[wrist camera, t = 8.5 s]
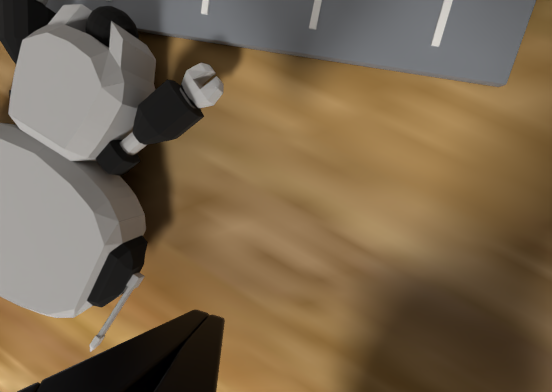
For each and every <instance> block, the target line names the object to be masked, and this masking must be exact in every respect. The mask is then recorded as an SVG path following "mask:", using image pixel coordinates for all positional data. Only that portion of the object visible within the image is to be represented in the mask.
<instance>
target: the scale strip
mask: <svg viewBox="0 0 552 392" xmlns="http://www.w3.org/2000/svg"><path fill="white" fill-rule="evenodd" d="M535 2H536V0H48V2H47V4H46V7H48V8H49V9H51V10H52V11H53V12H55V13H56V14H57V12H58V11H59V10H60V9H61V7H62V6H63V5H72V4H83V5H84V6H85V7H87V8H88V9H90V10H91V11H93V10H95V9H96V8H98V7H100V6H113V7H115V8H117V9H120V10H122V11H124V12H125V13H126V14H128V16H129V17H130V18H131V19H132V20H133V22H134V23H135V24H136V27H137V30H138V31H139V32H145V33H152V34H158V35H165V36H171V37H178V38H184V39H191V40H197V41H204V42H210V43H217V44H223V45H230V46H236V47H243V48H249V49H256V50H262V51H269V52H275V53H282V54H288V55H295V56H301V57H307V58H314V59H320V60H327V61H333V62H340V63H346V64H353V65H359V66H366V67H372V68H379V69H385V70H392V71H398V72H405V73H411V74H418V75H424V76H431V77H437V78H444V79H450V80H457V81H463V82H470V83H476V84H482V85H489V86H495V87H500V86H503V85H506V83H507V81H508V78H509V75H510V72H511V69H512V67H513V64H514V61H515V58H516V55H517V53H518V50H519V47H520V44H521V41H522V39H523V36H524V33H525V30H526V27H527V25H528V22H529V19H530V16H531V13H532V11H533V8H534V5H535Z"/></svg>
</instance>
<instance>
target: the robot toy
mask: <svg viewBox="0 0 552 392" xmlns="http://www.w3.org/2000/svg"><path fill="white" fill-rule="evenodd" d="M47 2H48V0H0V41H1V42H2V44H3V46H4V47H5V49H6V50H7V52H8V54H9V55H10V57H11V58H12V60H13V61H14V62H15V64H16V68H15V73H14V78H13V83H12V89H11V90H9V96H10V104H9V112H8V114H9V115H10V117H11V118H12V119H13V121H14V122H15V123H16V124H17V125H14V124H6V123H0V296H1V297H3V298H5V299H7V300H9V301H11V302H13V303H15V304H17V305H19V306H21V307H24V308H26V309H29V310H32V311H35V312H37V313H40V314H43V315H46V316H50V317H55V318H74V317H76V316H77V315H79V314H80V313H82V312H83V311H85V310H87V309H88V308H90V307H91V306H98V307H103V306H105V305H106V304H108V303H109V302H111V301H113V300H114V299H116V298H117V297H119V296H120V295H122V294H123V293H124V294H123V296H122V297H121V299H120V300H119V302H118V304H117V305H116V307H115V308H114V310H113V311H112V313H111V315H110V316H109V318H108V319H107V321H106V322H105V324H104V325H103V327H102V329H101V330H100V332H99V333H98V335H96V336H95V337H94V339H93V341H92V342H91V344H90V352H91V351H92V350H93V349H95V348H96V347H97V346H98V345H100V343H101V342H102V340H103V339H104V337H105V333H106V332H107V330H108V328H109V327H110V325H111V324H112V322H113V321H114V319H115V317H116V316H117V314H118V313H119V311H120V310H121V308H122V306H123V305H124V303H125V302H126V300H127V299H128V297H129V295H130V294H131V292H132V291H133V289H134V288H137V287H138V286H139V284H140V283H141V281H142V280H143V278H144V277H145V276H144V275H142V274H141V273H140V271H141V269H142V267H143V265H144V258H145V252H146V247H147V241H146V240H145V238H144V237H143V235H144V233H145V231H146V224H145V214H144V212H143V209H142V207H141V205H140V203H139V201H138V199H137V197H136V195H135V194H134V192H133V191H132V190H131V188H130V187H129V186H128V185H127V183H126V182H125V181H124V180H123V179H122V178H121V177H120V175H122V174H124V173H126V172H128V171H129V170H130V169H131V168H133V167H134V166H135V165H136V164H137V163H139V162H140V159H139V156H138V152H139V151H140V150H141V149H143V148H144V147H145V146H146V145H147V144H154V143H159V142H164V141H168V140H173V139H176V138H178V137H179V136H181V135H182V134H183V133H184V132H186V131H187V130H188V129H189V128H190V127H192V126H193V125H194V124H195V123H197V122H198V121H199V120H200V119H202V118H203V117H204V115H203V114H202V112H201V110H200V108H203V107H208V106H213V105H214V104H215V103H216V101H217V100H218V99H219V98H220V96H221V95H222V94H223V83H222V81H221V80H220V79H219V78H218V77H217V76H216V77H215V78H214V79H213V80H211V81H210V82H209V83H208V84H206V85H205V86H204V87H203V86H202V85H203V84H204V83H206V82H207V81H208V80H209V79H210V78H211V77H212V76H213V75H215V74H216V73H215V71H214V70H213V68H212V67H211V66H210V65H208V64H205V63H199V64H197V65H195V66H194V67H192V68H190V69H188V70H187V71H186V73H185V76H184V78H183V81H182V83H181V85H179V84H178V83H176V82H175V81H172V80H168V79H167V80H166V81H165V82H164V83H163V84H162V85H161V86H159V87H158V88H157V89H156V90H155V86H154V77H155V67H156V59H155V57H154V56H153V54H152V53H151V51H150V50H149V48H148V46H147V45H146V44H144V43H143V42H141V41H140V40H139V34H138V30H137V27H136V24H135V23H134V22H133V20H132V19H131V18H130V17H129V16H128V14H126V13H125V12H124V11H122V10H120V9H117V8H115V7H113V6H100V7H98V8H96V9H95V10H93V11H91V10H90V9H88V8H87V7H85V6H84V5H83V4H72V5H63V6H62V7H61V9H60V10H59V11H58V12H57V14H56V13H55V12H53V11H52V10H51V9H49V8H48V7H46V4H47Z"/></svg>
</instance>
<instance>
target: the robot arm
mask: <svg viewBox="0 0 552 392" xmlns="http://www.w3.org/2000/svg"><path fill="white" fill-rule="evenodd" d="M224 322H225V320H224V318H222V317H219V316H216V315H209V314H208V313H206V312H203V311H199V310H192V311H190V312H188V313H186V314H184V315H181V316H179V317H177V318H175V319H173V320H171V321H169V322H166V323H164V324H162V325H160V326H158V327H156V328H153V329H151V330H149V331H147V332H145V333H143V334H141V335H138V336H136V337H134V338H132V339H130V340H128V341H125V342H123V343H121V344H119V345H117V346H115V347H113V348H110V349H108V350H106V351H104V352H102V353H100V354H97V355H95V356H93V357H91V358H89V359H87V360H85V361H82V362H80V363H78V364H76V365H74V366H72V367H69V368H67V369H65V370H63V371H61V372H59V373H57V374H54V375H52V376H50V377H48V378H46V379H44V380H42V382H41V383H38V382H37V383H35V384H32V385H30V386H28V387H26V388H24V389H22V390H20V391H17V392H216V389H217V381H218V372H219V364H220V355H221V347H222V339H223V330H224Z"/></svg>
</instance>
